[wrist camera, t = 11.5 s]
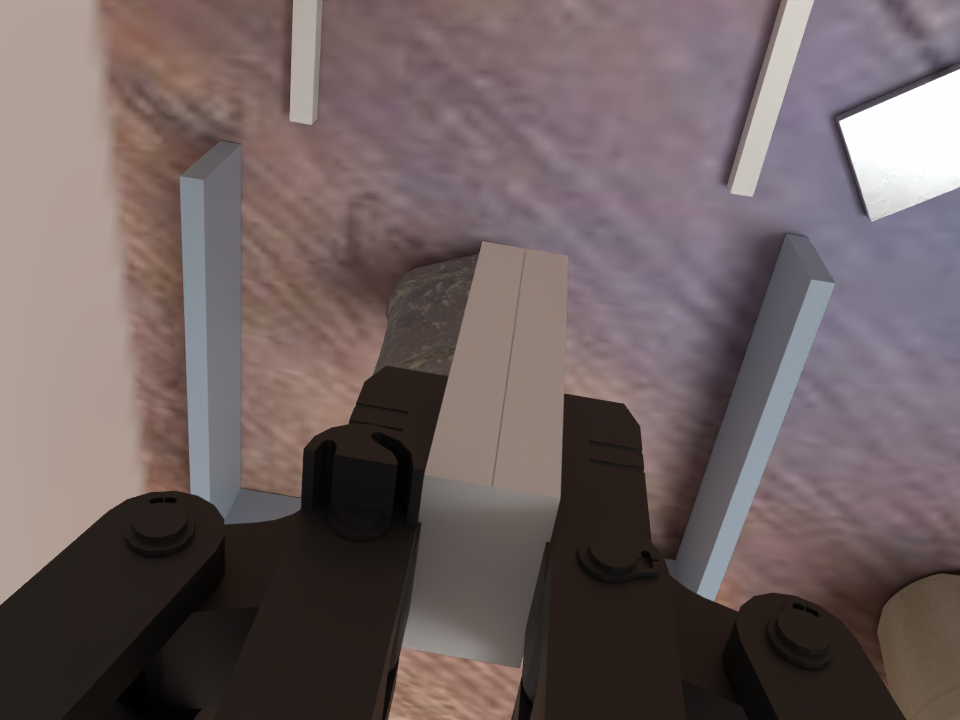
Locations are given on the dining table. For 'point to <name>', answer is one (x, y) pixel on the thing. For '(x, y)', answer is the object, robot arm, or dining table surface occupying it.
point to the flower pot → (923, 648)
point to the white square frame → (756, 126)
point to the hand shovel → (905, 144)
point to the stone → (427, 316)
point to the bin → (217, 479)
